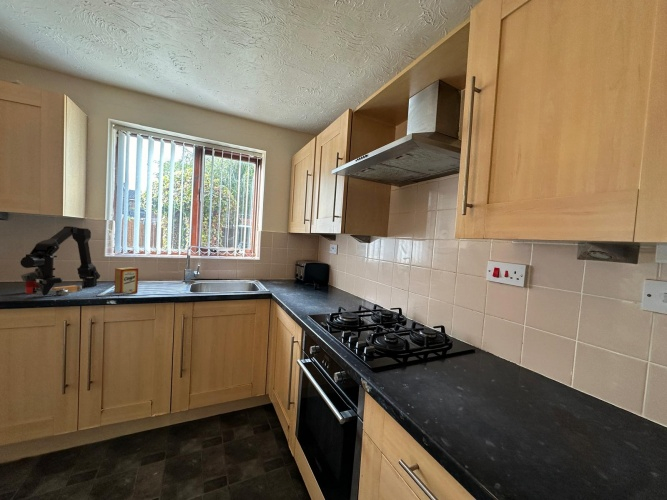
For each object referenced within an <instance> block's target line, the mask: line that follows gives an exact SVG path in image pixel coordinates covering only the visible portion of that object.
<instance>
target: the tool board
mask: <svg viewBox="0 0 667 500" xmlns="http://www.w3.org/2000/svg"><path fill="white" fill-rule="evenodd" d="M76 286H77V291H69V294H71V293H73V294H74V293H77V292H81V291H82V289H83V287H82V286H81V285H76ZM50 290H52V288H51V289H50ZM48 295H51V294H47V295H46V296H48Z"/></svg>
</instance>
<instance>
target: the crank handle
mask: <svg viewBox="0 0 667 500" xmlns="http://www.w3.org/2000/svg"><path fill="white" fill-rule="evenodd" d="M48 294H50V295H55V297H56V296H57V297H63V296H68V295H69V294H70V293H69V290H65V289H60V290H50V291H49V292H48ZM36 296H44V295H43V293H42V291H37V293H36Z"/></svg>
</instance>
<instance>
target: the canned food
mask: <svg viewBox="0 0 667 500" xmlns="http://www.w3.org/2000/svg"><path fill="white" fill-rule="evenodd" d="M24 282H25V285H24V286H25V287H24V288H25V290H24V291H25V292H24V293H25V294H29V295H32V294H37V291H41V288H40V286H39V285H37V284H35V282H36V280H33V281H29V282H26V281H24Z"/></svg>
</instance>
